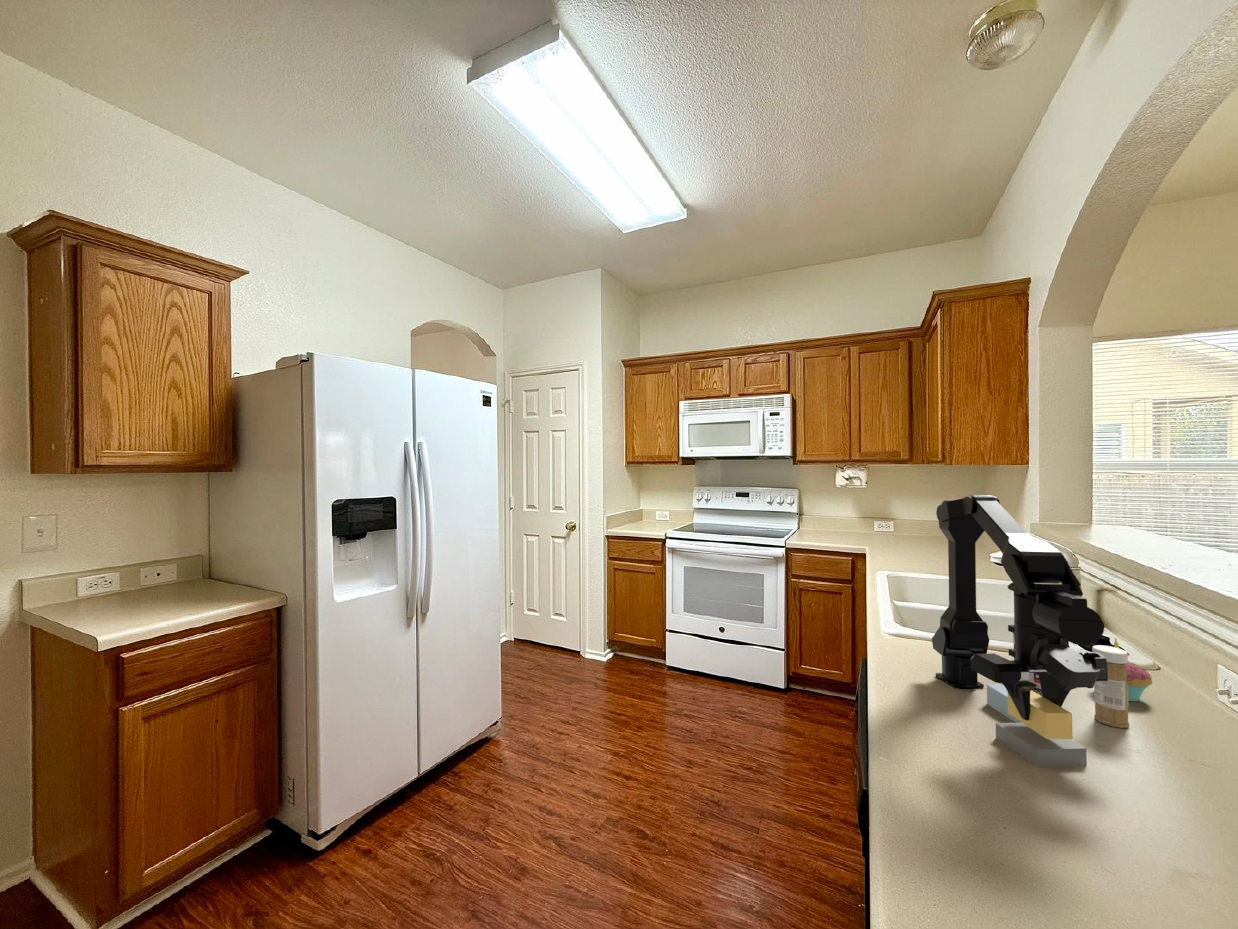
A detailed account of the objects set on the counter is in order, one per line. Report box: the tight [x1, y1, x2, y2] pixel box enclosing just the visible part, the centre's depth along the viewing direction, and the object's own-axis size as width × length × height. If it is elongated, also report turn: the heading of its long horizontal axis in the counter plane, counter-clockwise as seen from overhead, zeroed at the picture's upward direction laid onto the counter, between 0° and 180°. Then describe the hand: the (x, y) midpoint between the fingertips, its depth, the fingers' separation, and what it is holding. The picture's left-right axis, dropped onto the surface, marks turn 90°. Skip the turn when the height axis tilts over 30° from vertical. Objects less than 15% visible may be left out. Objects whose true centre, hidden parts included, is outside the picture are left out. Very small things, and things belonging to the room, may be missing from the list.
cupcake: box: [1113, 638, 1153, 702], centre depth 100 cm, size 9×8×12 cm
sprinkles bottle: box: [1091, 644, 1130, 729], centre depth 89 cm, size 5×5×14 cm
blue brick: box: [986, 684, 1022, 723], centre depth 93 cm, size 8×4×4 cm, turn 178°
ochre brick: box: [1007, 689, 1074, 740], centre depth 80 cm, size 8×4×4 cm, turn 177°
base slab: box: [995, 722, 1088, 768], centre depth 80 cm, size 8×8×3 cm
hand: (1038, 719), depth 80 cm, fingers closed on ochre brick, 4 cm apart
